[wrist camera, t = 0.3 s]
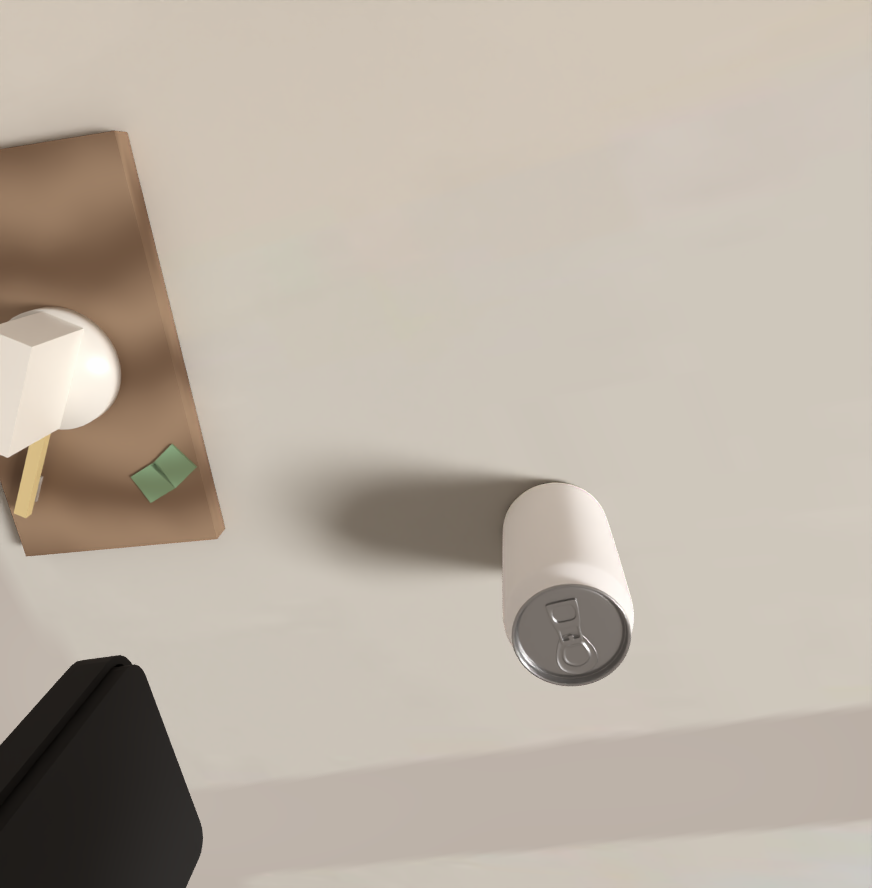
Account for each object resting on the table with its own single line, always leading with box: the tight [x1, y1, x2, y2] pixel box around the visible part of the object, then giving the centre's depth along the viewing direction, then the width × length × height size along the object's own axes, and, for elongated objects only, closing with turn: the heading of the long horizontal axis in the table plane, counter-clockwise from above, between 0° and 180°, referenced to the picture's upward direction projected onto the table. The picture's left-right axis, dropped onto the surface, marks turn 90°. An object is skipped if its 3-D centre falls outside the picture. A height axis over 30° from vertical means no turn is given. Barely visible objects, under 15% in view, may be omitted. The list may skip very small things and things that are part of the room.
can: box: [502, 483, 634, 686], centre depth 42 cm, size 6×6×12 cm
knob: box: [0, 306, 121, 518], centre depth 43 cm, size 14×7×6 cm, turn 158°
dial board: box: [0, 131, 225, 556], centre depth 46 cm, size 24×13×2 cm, turn 8°
